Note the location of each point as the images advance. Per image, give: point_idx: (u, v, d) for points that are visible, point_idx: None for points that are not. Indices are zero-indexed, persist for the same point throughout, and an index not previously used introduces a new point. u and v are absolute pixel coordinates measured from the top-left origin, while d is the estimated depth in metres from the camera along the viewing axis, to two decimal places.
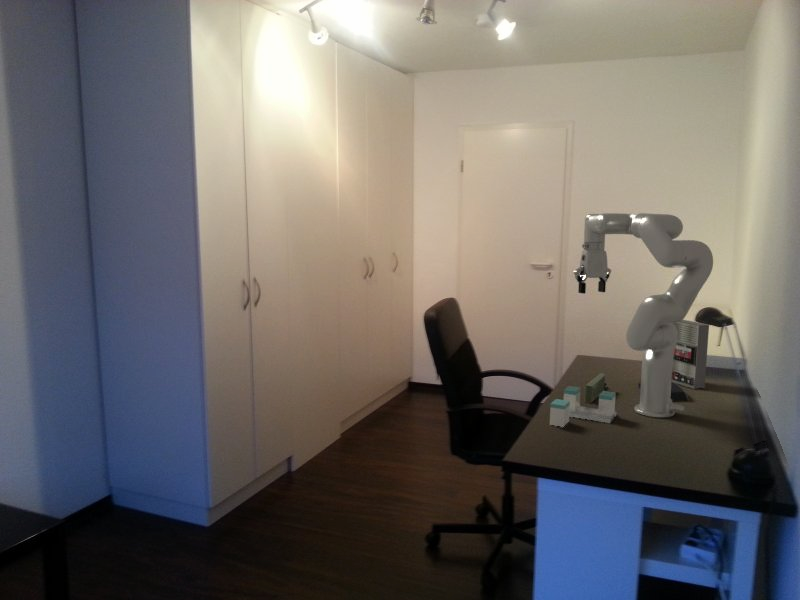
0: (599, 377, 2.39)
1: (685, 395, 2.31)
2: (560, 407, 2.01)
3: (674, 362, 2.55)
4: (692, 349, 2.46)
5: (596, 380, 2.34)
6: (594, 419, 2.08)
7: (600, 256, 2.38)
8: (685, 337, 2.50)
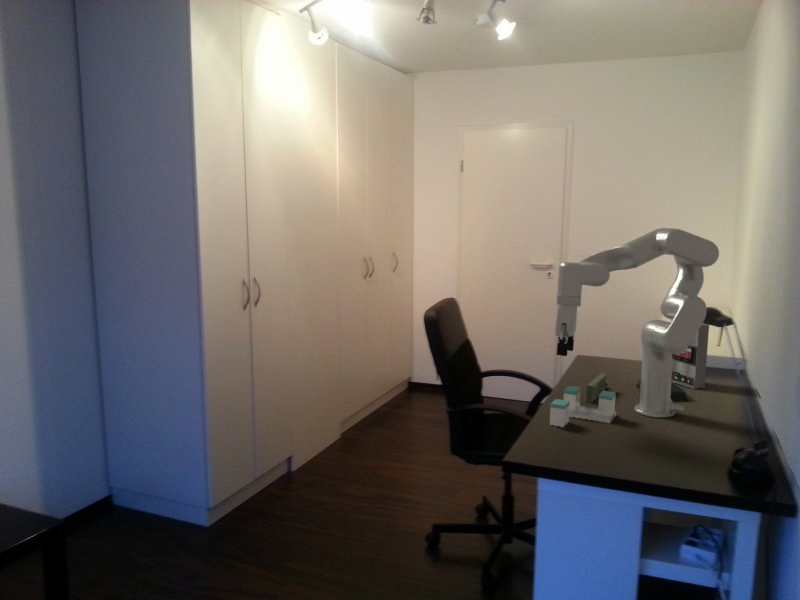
0: (600, 377, 2.38)
1: (685, 395, 2.31)
2: (560, 407, 2.01)
3: (674, 362, 2.55)
4: (692, 349, 2.46)
5: (597, 380, 2.34)
6: (594, 419, 2.08)
7: None
8: None
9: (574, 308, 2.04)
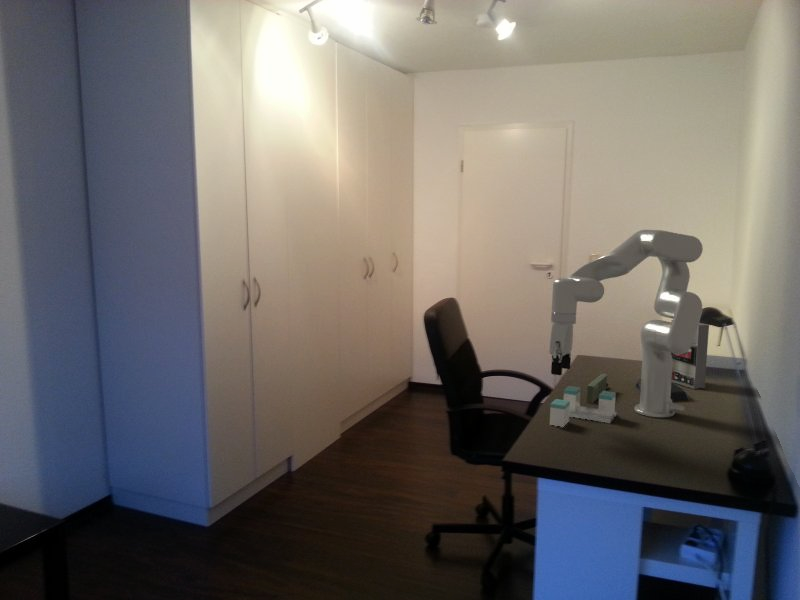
0: (601, 377, 2.38)
1: (685, 395, 2.31)
2: (560, 407, 2.01)
3: (674, 362, 2.55)
4: (692, 349, 2.46)
5: (597, 380, 2.34)
6: (594, 419, 2.08)
7: None
8: None
9: (568, 326, 1.98)
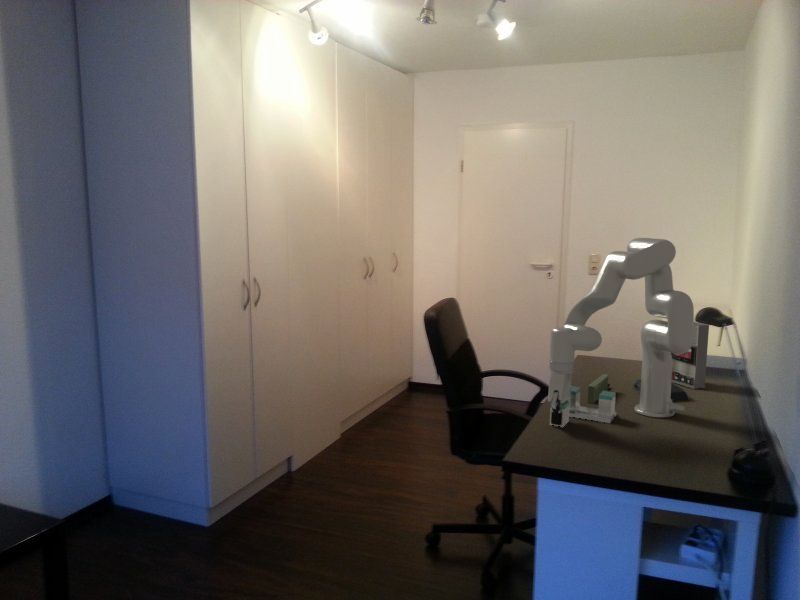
0: (602, 377, 2.38)
1: (686, 395, 2.31)
2: None
3: (674, 362, 2.55)
4: (692, 349, 2.46)
5: (599, 380, 2.34)
6: (594, 419, 2.08)
7: None
8: None
9: (567, 375, 2.00)
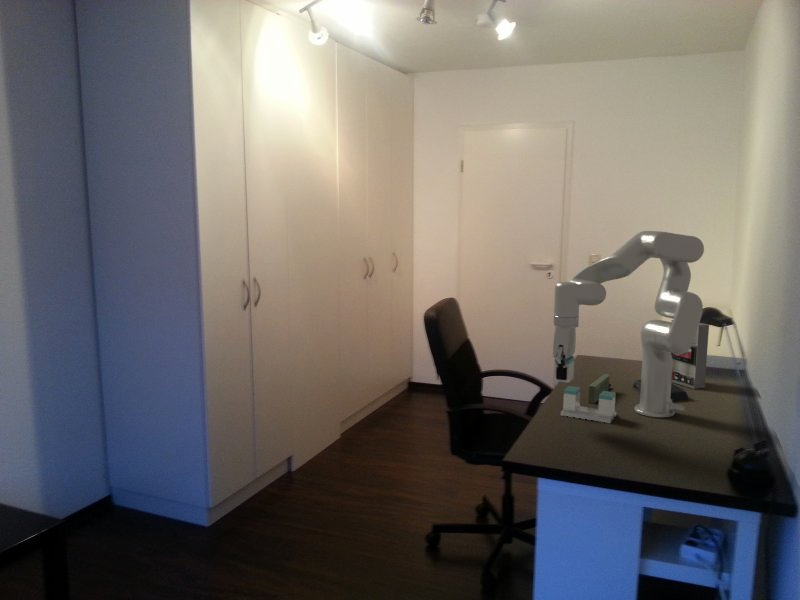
0: (603, 377, 2.38)
1: (686, 394, 2.32)
2: None
3: (674, 362, 2.55)
4: (692, 349, 2.46)
5: (600, 380, 2.34)
6: (594, 419, 2.08)
7: None
8: None
9: (571, 329, 1.98)
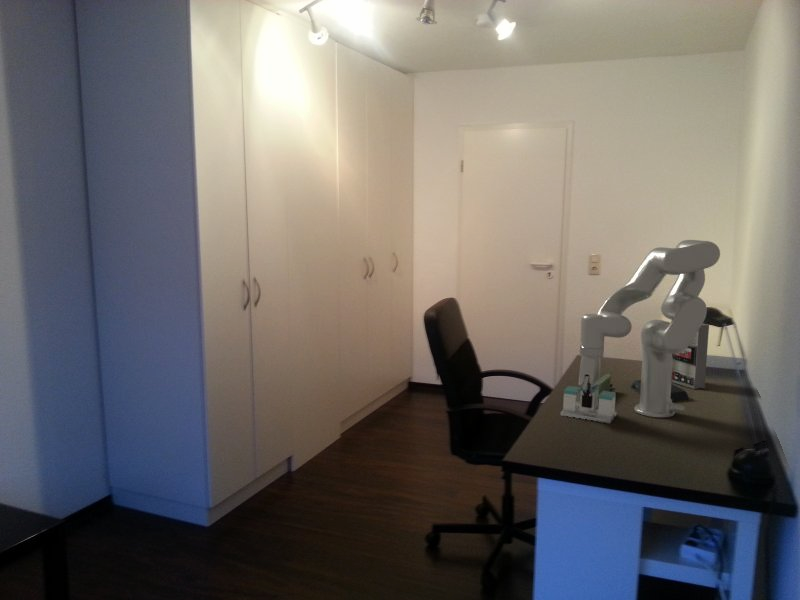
0: (604, 378, 2.37)
1: (686, 394, 2.32)
2: None
3: (674, 362, 2.55)
4: (692, 349, 2.46)
5: (601, 381, 2.33)
6: (594, 419, 2.08)
7: None
8: None
9: (597, 359, 2.08)
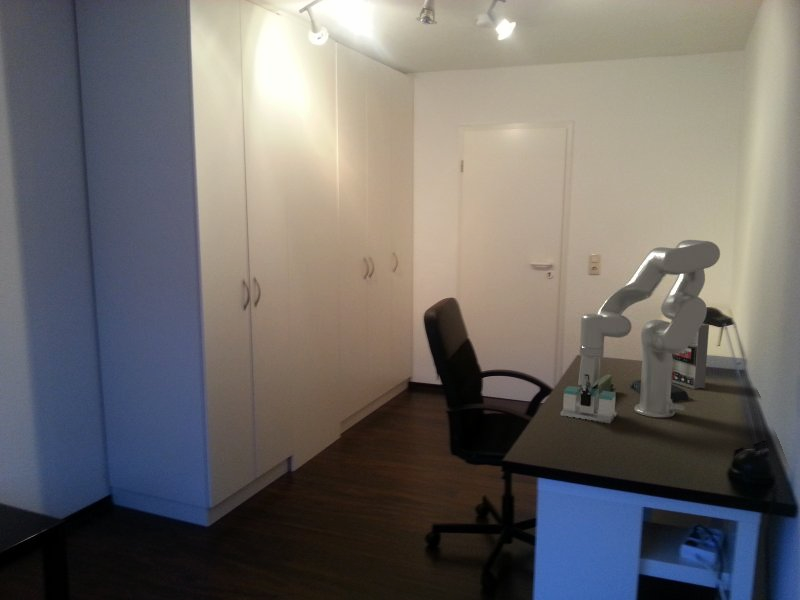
0: (605, 378, 2.37)
1: (686, 394, 2.32)
2: None
3: (674, 362, 2.55)
4: (692, 349, 2.46)
5: (601, 381, 2.33)
6: (594, 419, 2.08)
7: None
8: None
9: (597, 359, 2.08)
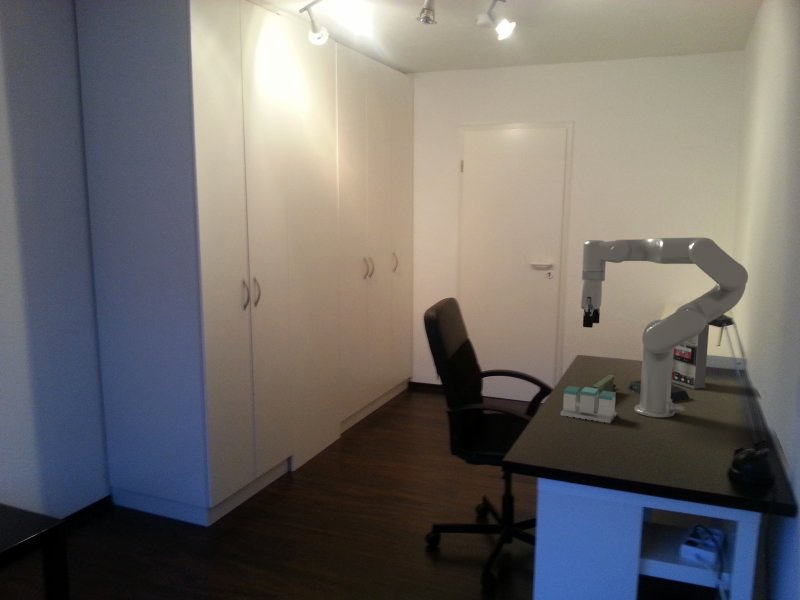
0: (607, 378, 2.37)
1: (686, 394, 2.33)
2: (590, 394, 2.09)
3: (674, 362, 2.55)
4: (692, 349, 2.46)
5: (603, 381, 2.33)
6: (594, 419, 2.08)
7: None
8: None
9: (598, 283, 2.18)
